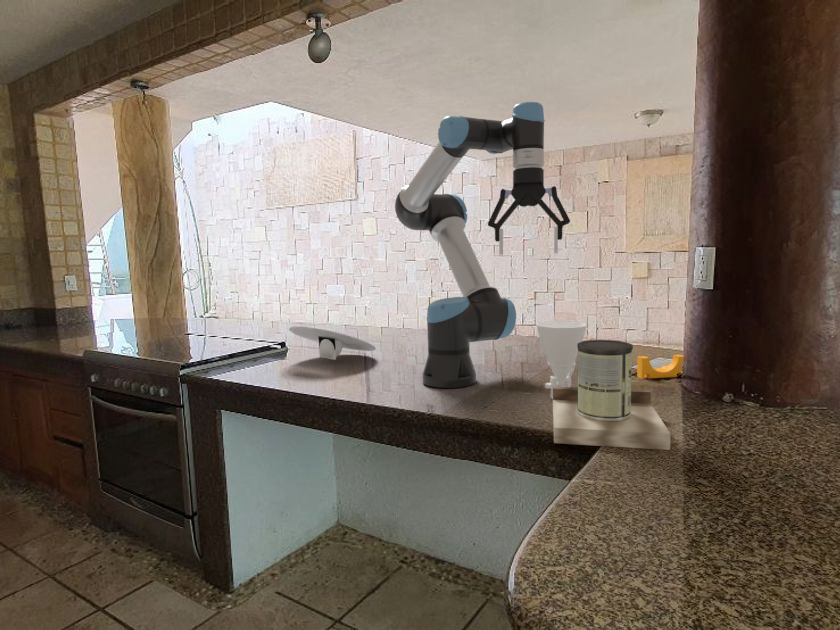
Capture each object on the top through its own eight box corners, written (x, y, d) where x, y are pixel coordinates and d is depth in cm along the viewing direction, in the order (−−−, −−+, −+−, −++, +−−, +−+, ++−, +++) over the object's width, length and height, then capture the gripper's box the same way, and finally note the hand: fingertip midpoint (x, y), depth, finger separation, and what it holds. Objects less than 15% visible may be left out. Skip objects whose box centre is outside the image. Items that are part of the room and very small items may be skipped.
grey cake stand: (268, 339, 179) (322, 323, 201) (292, 389, 177) (344, 368, 200) (319, 304, 164) (371, 291, 186) (345, 359, 162) (395, 339, 184)
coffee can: (572, 405, 110) (573, 339, 109) (623, 406, 109) (624, 339, 107) (581, 421, 100) (582, 349, 98) (637, 422, 99) (639, 349, 97)
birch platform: (553, 443, 98) (554, 414, 97) (552, 410, 117) (552, 386, 116) (670, 449, 93) (671, 420, 92) (648, 415, 112) (649, 390, 112)
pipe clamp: (675, 376, 145) (676, 353, 145) (684, 380, 141) (685, 356, 140) (633, 378, 145) (634, 355, 144) (641, 381, 140) (642, 358, 140)
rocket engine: (527, 394, 131) (527, 322, 128) (566, 389, 134) (567, 319, 132) (554, 406, 120) (554, 329, 118) (595, 400, 124) (597, 325, 121)
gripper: (476, 169, 130) (477, 255, 133) (581, 162, 124) (580, 252, 127) (480, 173, 137) (481, 254, 140) (579, 167, 132) (578, 252, 134)
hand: (528, 254), depth 133 cm, fingers open, 13 cm apart
